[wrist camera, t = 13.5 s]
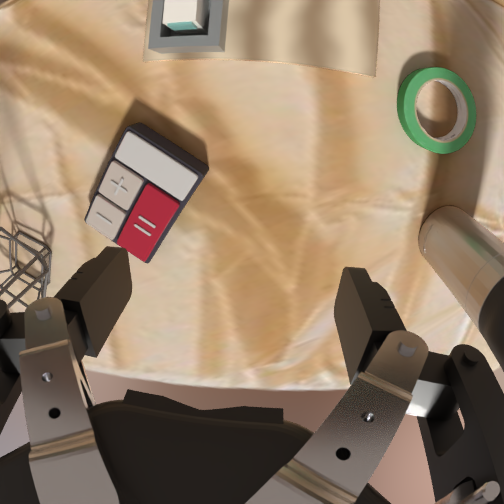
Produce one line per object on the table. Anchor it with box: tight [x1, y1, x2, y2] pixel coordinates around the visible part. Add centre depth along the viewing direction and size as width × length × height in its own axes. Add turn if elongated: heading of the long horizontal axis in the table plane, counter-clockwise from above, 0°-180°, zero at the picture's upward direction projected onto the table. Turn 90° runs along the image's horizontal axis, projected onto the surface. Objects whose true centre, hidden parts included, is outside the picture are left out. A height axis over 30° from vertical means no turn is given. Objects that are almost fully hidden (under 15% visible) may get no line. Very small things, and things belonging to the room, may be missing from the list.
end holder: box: [148, 0, 229, 54], centre depth 26 cm, size 7×10×4 cm
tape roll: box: [397, 67, 476, 154], centre depth 31 cm, size 11×11×3 cm
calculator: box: [85, 123, 209, 263], centre depth 38 cm, size 11×4×15 cm
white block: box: [163, 0, 209, 34], centre depth 24 cm, size 3×6×6 cm, turn 177°
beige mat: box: [143, 0, 380, 78], centre depth 28 cm, size 27×14×1 cm, turn 86°
